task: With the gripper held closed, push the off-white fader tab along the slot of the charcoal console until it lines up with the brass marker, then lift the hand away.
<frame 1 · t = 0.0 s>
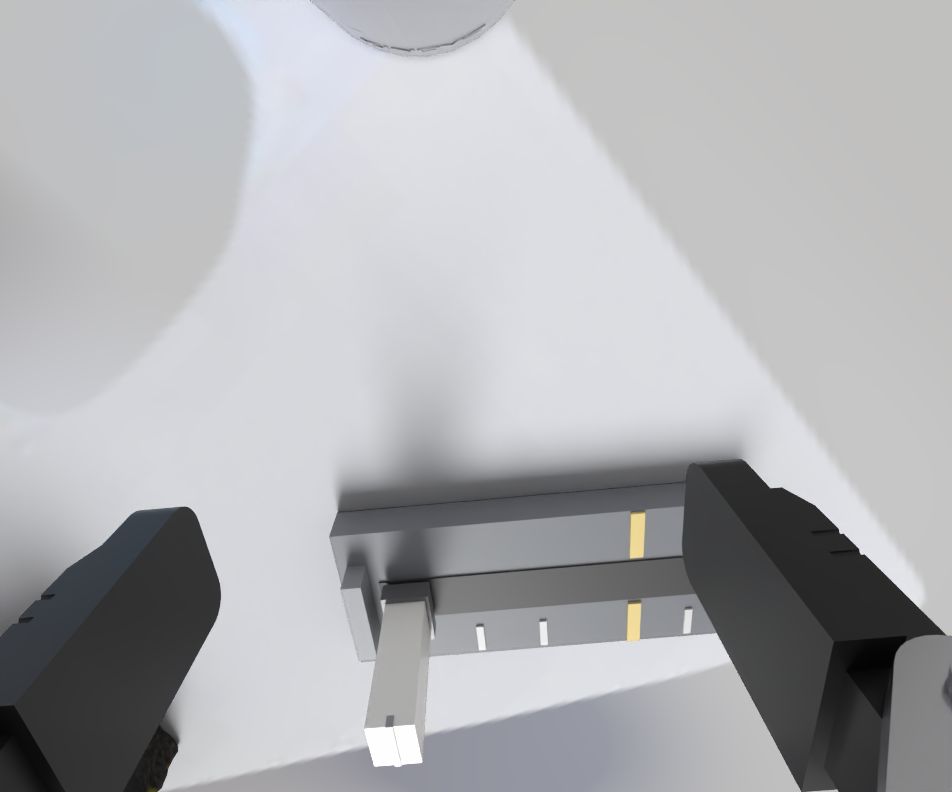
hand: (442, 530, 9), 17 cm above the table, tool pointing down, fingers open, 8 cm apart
candle: (76, 720, 37), on the table
console: (536, 561, 31), on the table
fader: (402, 666, 26), point 6 cm above the table, slide at 0.0 cm
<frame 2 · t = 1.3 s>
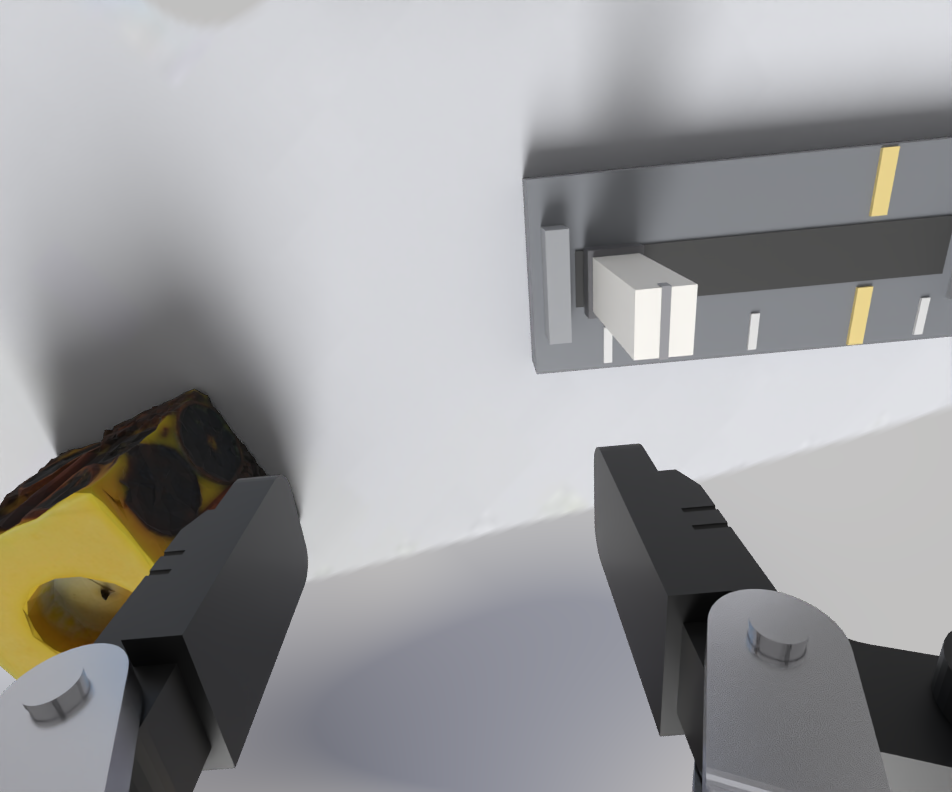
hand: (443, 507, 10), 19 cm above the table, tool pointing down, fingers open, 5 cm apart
candle: (186, 487, 32), on the table
console: (740, 255, 27), on the table
fader: (633, 297, 22), point 6 cm above the table, slide at 0.0 cm
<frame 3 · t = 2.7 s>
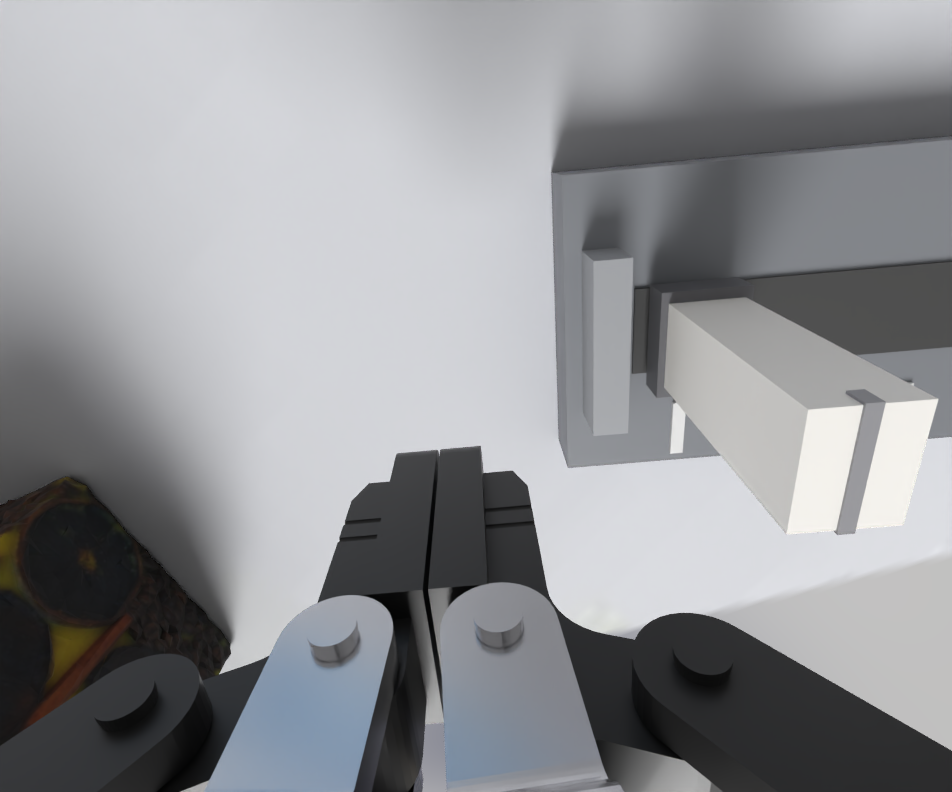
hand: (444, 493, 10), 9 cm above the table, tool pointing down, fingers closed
candle: (71, 601, 23), on the table
console: (877, 291, 18), on the table
fader: (751, 383, 13), point 6 cm above the table, slide at 0.0 cm
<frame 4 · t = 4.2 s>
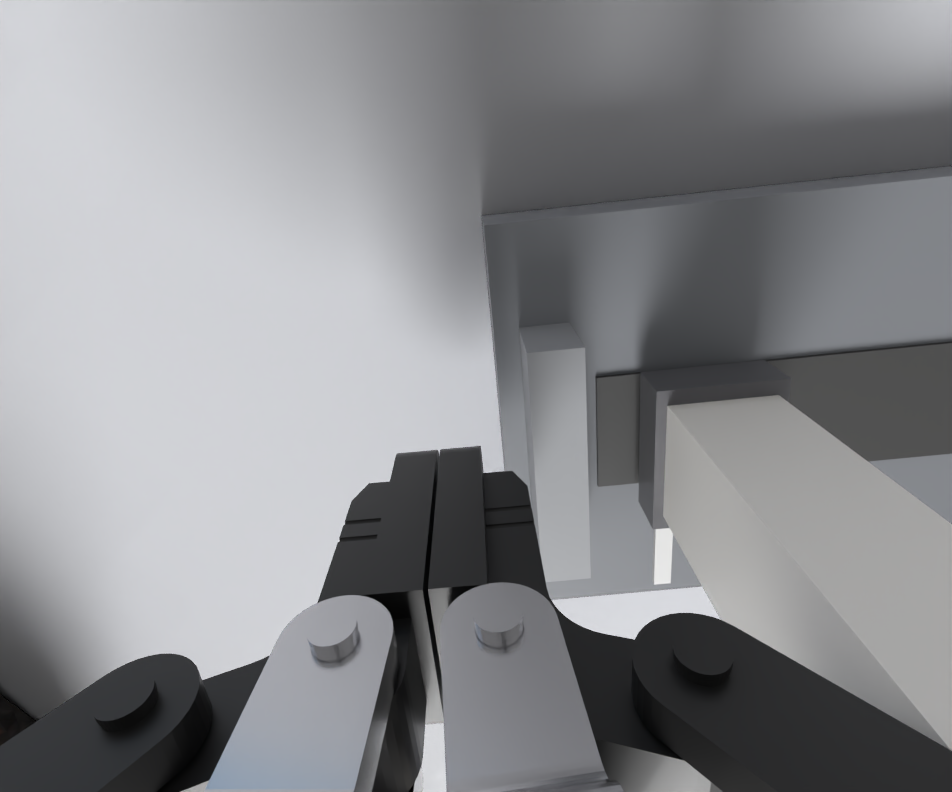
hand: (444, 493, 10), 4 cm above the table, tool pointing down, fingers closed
console: (926, 362, 14), on the table
fader: (799, 553, 8), point 6 cm above the table, slide at 0.5 cm, touching hand
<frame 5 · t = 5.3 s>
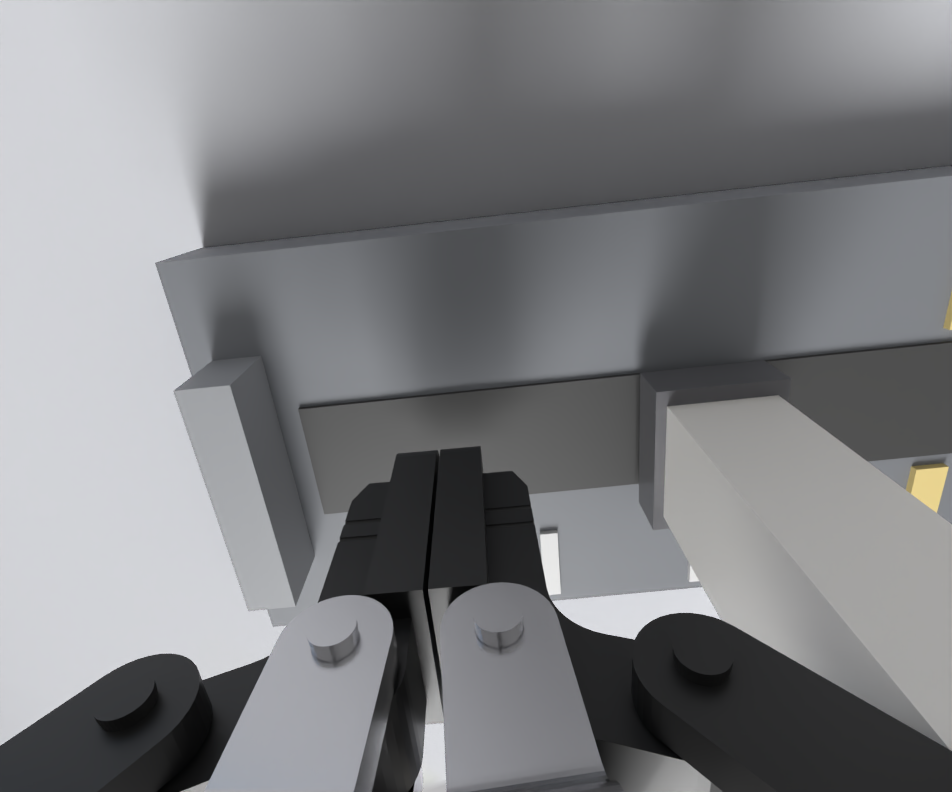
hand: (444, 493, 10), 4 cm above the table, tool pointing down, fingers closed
console: (673, 387, 14), on the table
fader: (799, 554, 8), point 6 cm above the table, slide at 6.7 cm, touching hand
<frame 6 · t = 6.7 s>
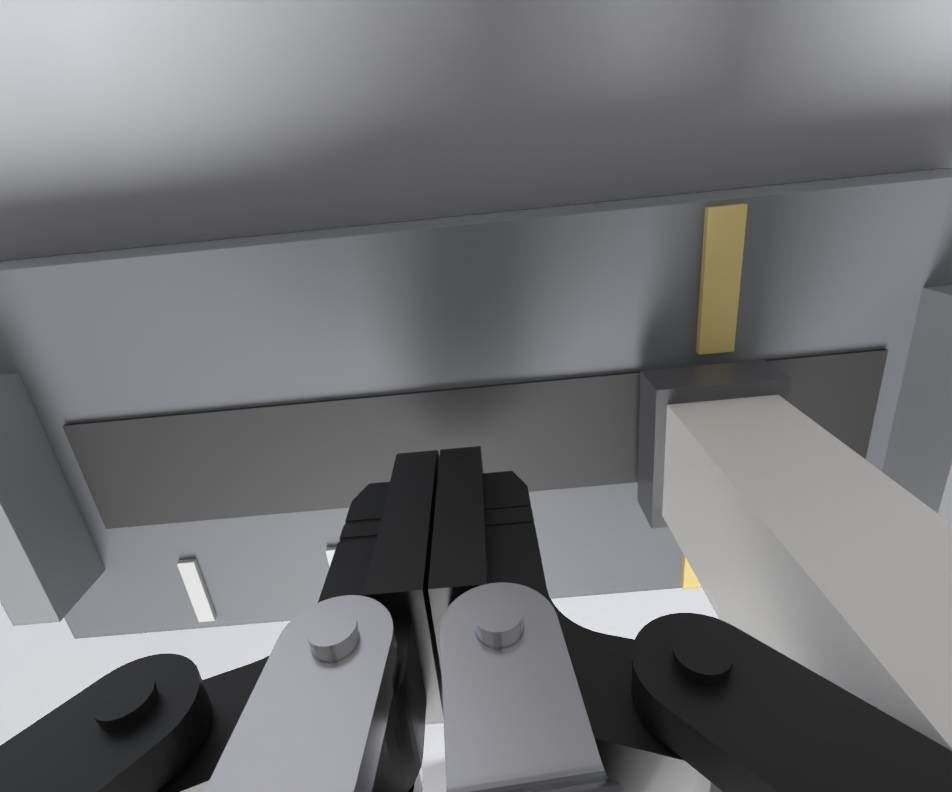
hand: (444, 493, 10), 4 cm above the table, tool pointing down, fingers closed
console: (473, 405, 14), on the table
fader: (798, 552, 8), point 6 cm above the table, slide at 11.6 cm, touching hand
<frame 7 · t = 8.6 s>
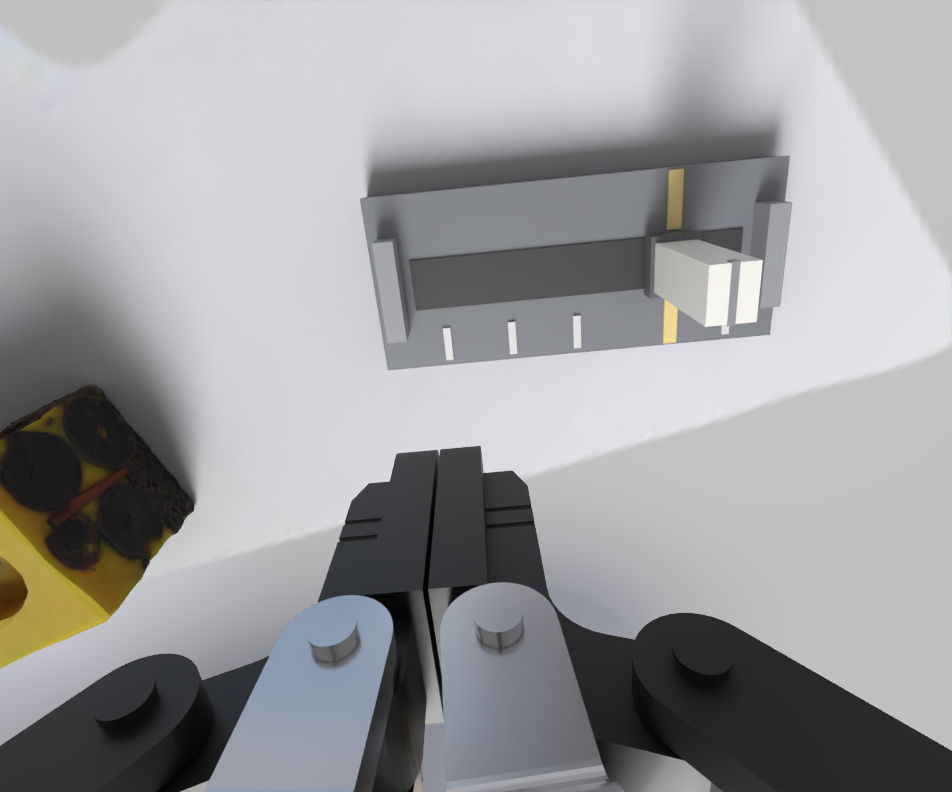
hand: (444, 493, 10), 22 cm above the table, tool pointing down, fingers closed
candle: (90, 475, 36), on the table
console: (568, 264, 31), on the table
fader: (696, 276, 25), point 6 cm above the table, slide at 11.6 cm
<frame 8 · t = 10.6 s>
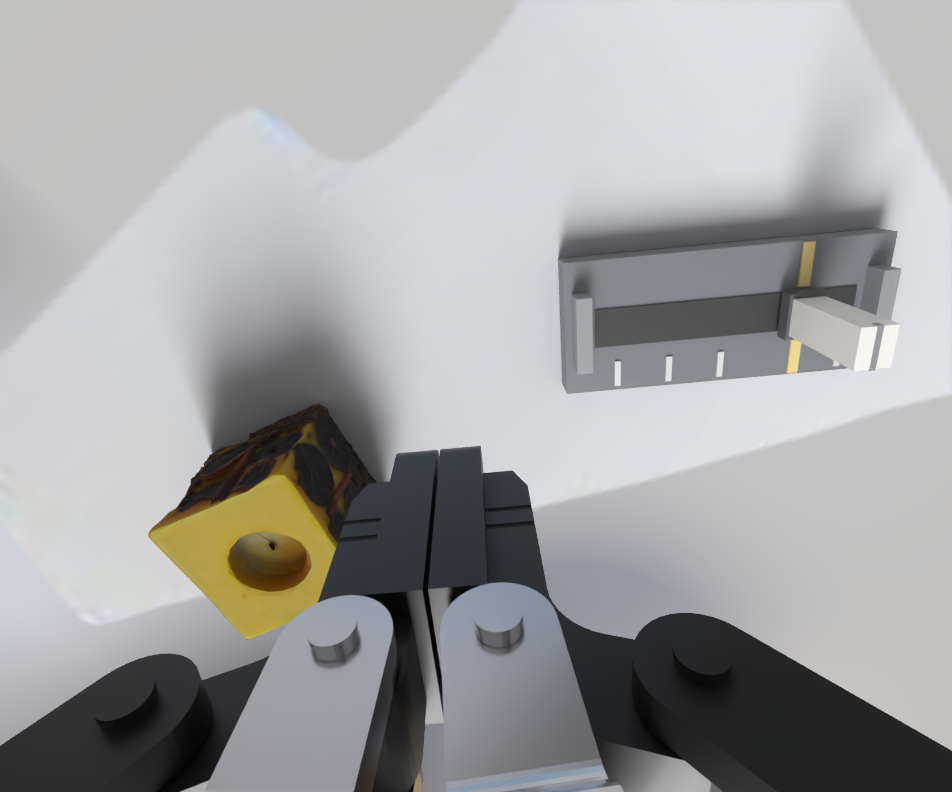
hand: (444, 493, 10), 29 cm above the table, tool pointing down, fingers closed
candle: (303, 476, 44), on the table
console: (711, 309, 39), on the table
fader: (833, 328, 33), point 6 cm above the table, slide at 11.6 cm
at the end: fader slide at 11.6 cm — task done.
